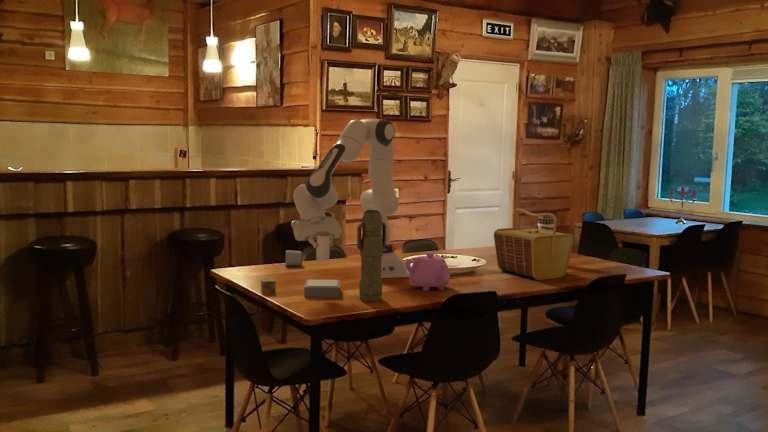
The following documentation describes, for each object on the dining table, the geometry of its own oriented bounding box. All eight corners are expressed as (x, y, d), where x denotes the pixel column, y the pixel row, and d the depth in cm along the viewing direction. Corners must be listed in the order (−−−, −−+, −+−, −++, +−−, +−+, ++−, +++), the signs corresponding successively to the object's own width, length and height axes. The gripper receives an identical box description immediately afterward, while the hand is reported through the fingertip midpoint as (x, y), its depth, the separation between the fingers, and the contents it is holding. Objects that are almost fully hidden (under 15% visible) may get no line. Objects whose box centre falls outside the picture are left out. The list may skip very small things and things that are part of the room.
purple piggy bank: (417, 295, 291) (418, 259, 289) (397, 285, 309) (397, 251, 307) (460, 292, 299) (461, 256, 297) (437, 282, 317) (438, 248, 315)
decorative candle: (557, 263, 369) (559, 215, 366) (544, 265, 364) (546, 216, 361) (543, 260, 376) (545, 213, 374) (531, 262, 371) (533, 214, 368)
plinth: (340, 289, 299) (340, 279, 298) (339, 297, 285) (339, 286, 285) (306, 289, 298) (306, 279, 298) (304, 297, 284) (304, 286, 284)
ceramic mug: (302, 267, 347) (303, 251, 346) (285, 267, 345) (285, 251, 344) (301, 263, 357) (301, 248, 356) (284, 263, 355) (284, 248, 355)
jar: (329, 258, 293) (330, 231, 292) (329, 260, 288) (329, 233, 286) (316, 258, 293) (316, 231, 291) (315, 260, 287) (316, 233, 286)
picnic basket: (574, 277, 335) (577, 213, 331) (532, 282, 322) (535, 215, 318) (530, 266, 360) (533, 206, 356) (490, 271, 346) (492, 208, 343)
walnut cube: (273, 290, 296) (273, 278, 295) (275, 293, 291) (275, 281, 290) (261, 291, 294) (261, 279, 293) (263, 293, 289) (263, 281, 289)
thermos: (351, 299, 283) (353, 210, 279) (376, 295, 290) (378, 208, 286) (363, 303, 276) (365, 212, 272) (389, 300, 282) (391, 211, 278)
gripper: (292, 215, 288) (303, 243, 281) (336, 213, 299) (348, 240, 292) (287, 225, 292) (297, 253, 285) (331, 222, 303) (342, 249, 296)
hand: (323, 246), depth 289 cm, fingers closed on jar, 5 cm apart
